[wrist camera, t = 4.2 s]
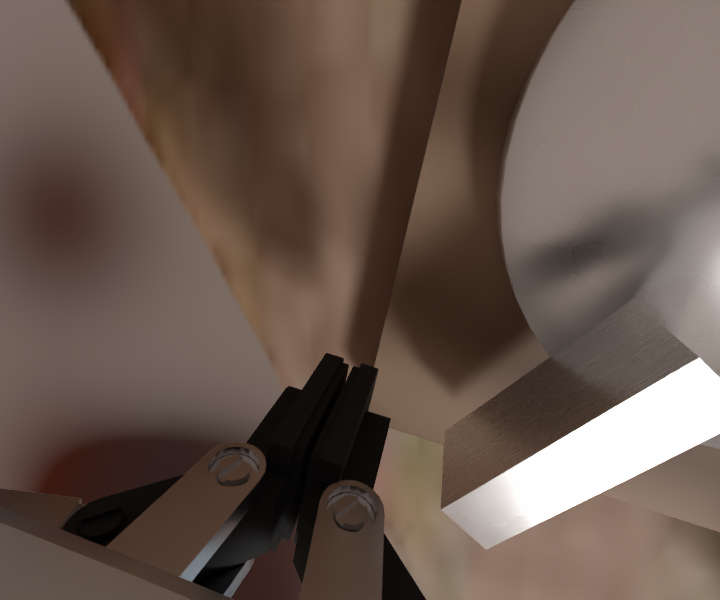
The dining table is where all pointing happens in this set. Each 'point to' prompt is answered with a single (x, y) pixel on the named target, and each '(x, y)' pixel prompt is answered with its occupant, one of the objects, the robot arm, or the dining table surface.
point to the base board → (487, 264)
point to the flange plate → (603, 266)
